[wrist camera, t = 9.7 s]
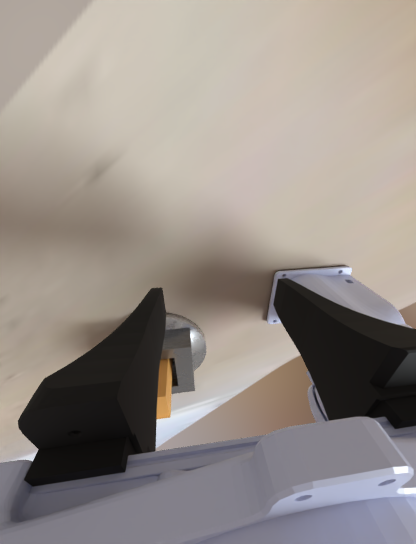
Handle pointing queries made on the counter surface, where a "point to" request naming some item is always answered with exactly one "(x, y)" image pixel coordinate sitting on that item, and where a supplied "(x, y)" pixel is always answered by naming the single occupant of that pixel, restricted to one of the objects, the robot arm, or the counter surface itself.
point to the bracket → (183, 351)
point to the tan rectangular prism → (164, 388)
